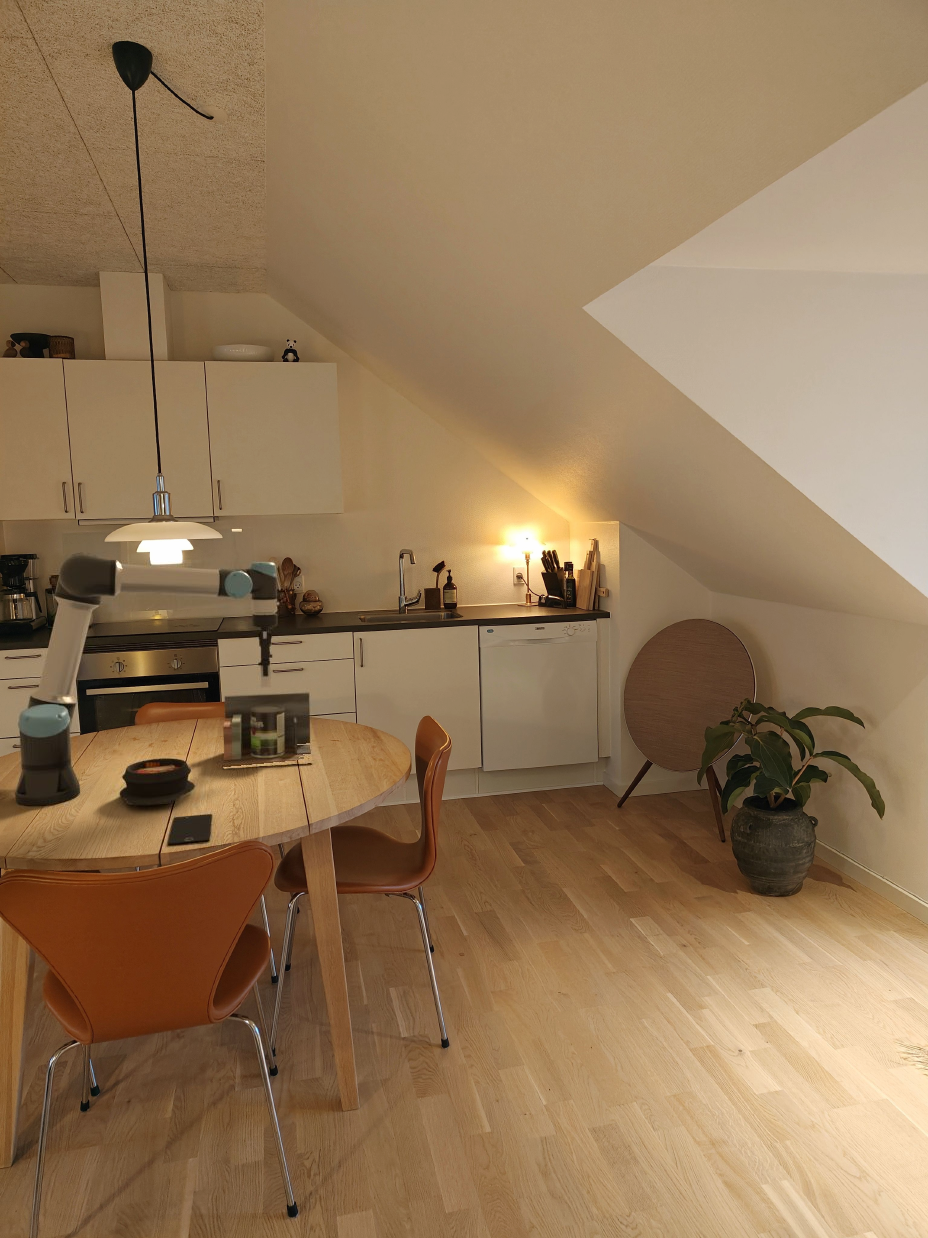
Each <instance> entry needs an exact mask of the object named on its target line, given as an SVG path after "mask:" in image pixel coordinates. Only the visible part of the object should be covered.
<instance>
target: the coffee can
mask: <svg viewBox="0 0 928 1238" xmlns="http://www.w3.org/2000/svg"><path fill="white" fill-rule="evenodd" d="M250 719H251V755H252V756H253V757H257V758H273V757H279V756H282V755H284V754H285V739H284V707H282V706H275V705H265V706H257V707H253V708H251V709H250Z"/></svg>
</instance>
